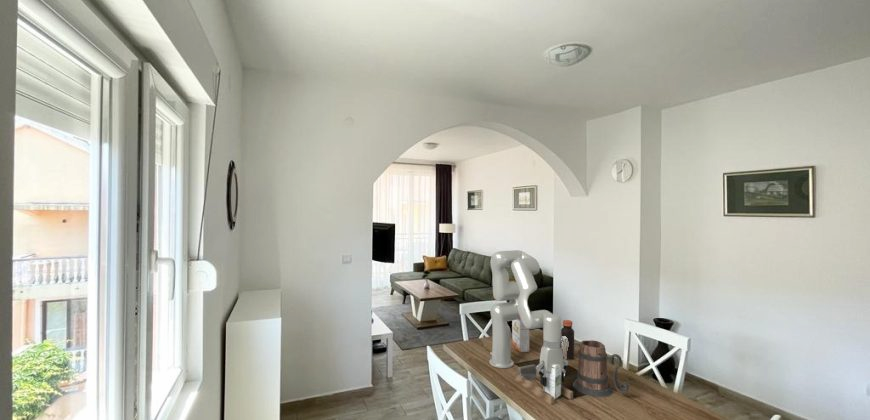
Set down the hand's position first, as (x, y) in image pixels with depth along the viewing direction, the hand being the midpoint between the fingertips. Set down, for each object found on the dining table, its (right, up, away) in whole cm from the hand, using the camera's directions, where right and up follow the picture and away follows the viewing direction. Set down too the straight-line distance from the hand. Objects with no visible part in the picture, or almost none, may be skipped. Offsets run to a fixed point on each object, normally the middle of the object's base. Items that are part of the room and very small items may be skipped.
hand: (552, 383), depth 158 cm
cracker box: (-1, -6, +56) cm, 56 cm away
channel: (-2, -5, +5) cm, 8 cm away
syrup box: (0, -6, 0) cm, 6 cm away
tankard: (+23, -6, +5) cm, 24 cm away
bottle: (+22, -6, +42) cm, 47 cm away
